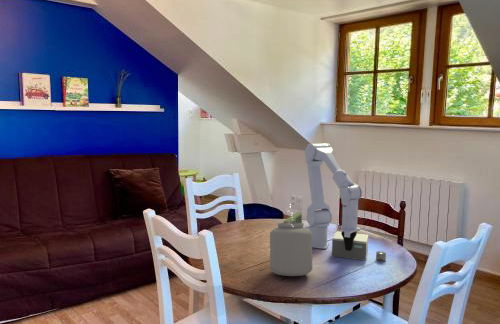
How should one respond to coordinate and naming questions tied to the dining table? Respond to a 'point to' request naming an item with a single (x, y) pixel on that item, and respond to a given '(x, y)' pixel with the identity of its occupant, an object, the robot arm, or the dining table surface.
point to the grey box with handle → (355, 253)
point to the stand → (380, 256)
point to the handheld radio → (294, 218)
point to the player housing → (358, 238)
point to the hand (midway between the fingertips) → (348, 250)
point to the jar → (291, 249)
